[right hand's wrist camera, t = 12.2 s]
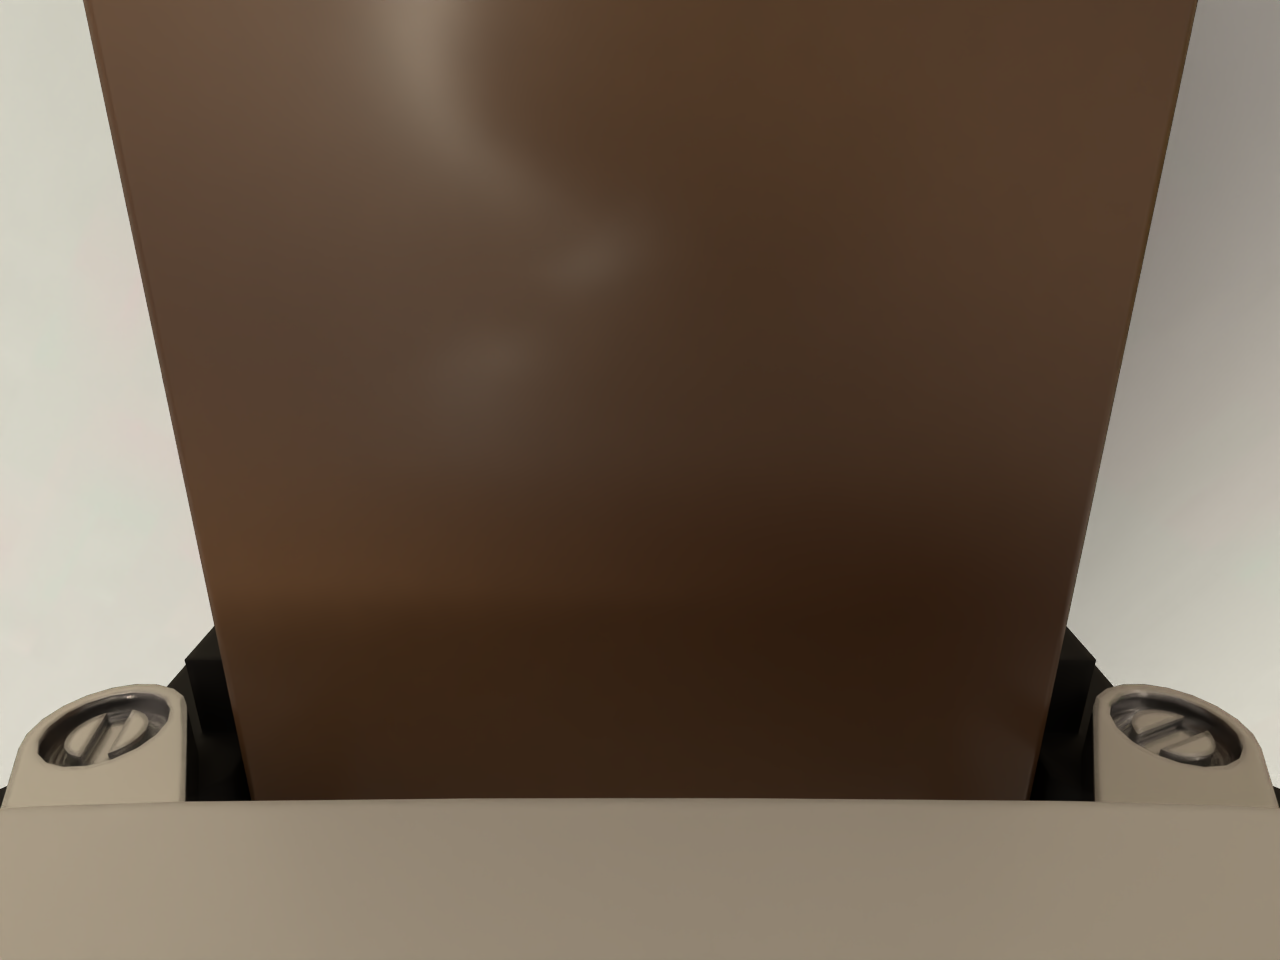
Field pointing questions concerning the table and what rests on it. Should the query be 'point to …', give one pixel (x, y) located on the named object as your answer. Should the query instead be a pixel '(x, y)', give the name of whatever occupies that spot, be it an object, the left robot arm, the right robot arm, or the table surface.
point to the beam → (640, 375)
